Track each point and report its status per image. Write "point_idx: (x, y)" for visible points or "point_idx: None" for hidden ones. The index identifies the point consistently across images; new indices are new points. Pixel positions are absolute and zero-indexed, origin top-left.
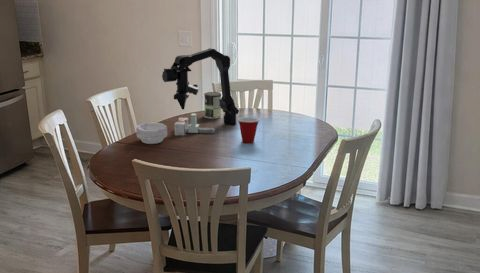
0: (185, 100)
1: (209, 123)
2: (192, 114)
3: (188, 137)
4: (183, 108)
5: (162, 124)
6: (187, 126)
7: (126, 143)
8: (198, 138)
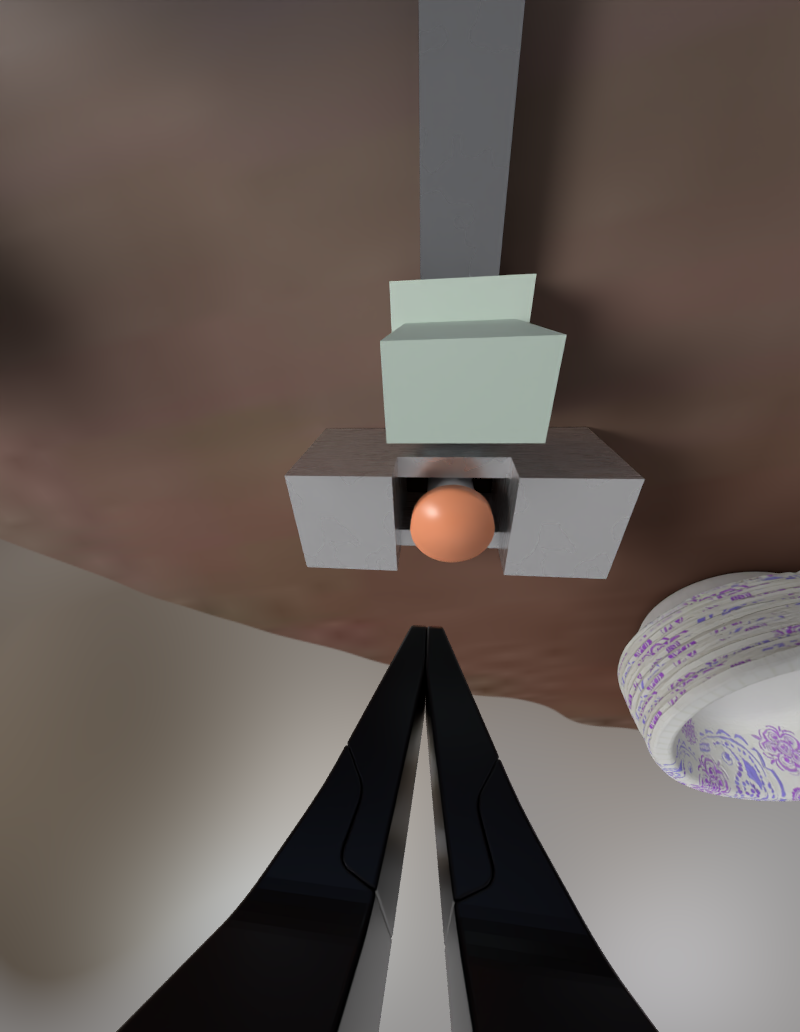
0: (385, 861)
1: (33, 209)
2: (478, 418)
3: (673, 366)
4: (450, 648)
5: (753, 683)
6: (383, 441)
7: None
8: (763, 210)
